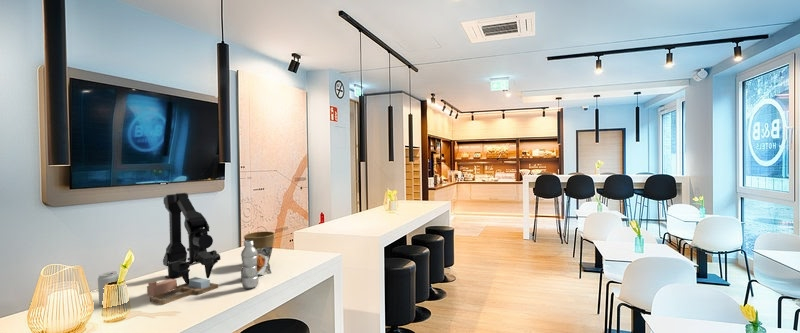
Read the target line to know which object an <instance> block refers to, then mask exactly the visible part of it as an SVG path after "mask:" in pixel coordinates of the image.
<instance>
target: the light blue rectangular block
mask: <svg viewBox="0 0 800 333" xmlns="http://www.w3.org/2000/svg"><path fill="white" fill-rule="evenodd" d="M210 283H211V279H209V278H203V277H202V278H201V277H198V276H197V277H196V276H194V277H191V278H190V277H189V285H187V286H189V287H193V288H198V289H204V288H206V287H209V286H210Z"/></svg>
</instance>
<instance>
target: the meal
mask: <svg viewBox="0 0 800 333" xmlns="http://www.w3.org/2000/svg"><path fill="white" fill-rule="evenodd" d="M271 249H272V250H273V248H272V247H267V248H261V249H256V250H257V252H258V254H257V265H256V266H257V276H258V277H260V276H264V275H265V274H272V270H271V265H270V262H269V263H268V259H269V257H270V255H271V256H272V253H271V251H270V250H271ZM270 258H271V257H270ZM240 266H241V267H242V268H240V281H241V282H242V278H243V263H242V262H241V264H240Z"/></svg>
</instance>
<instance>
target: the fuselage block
mask: <svg viewBox="0 0 800 333" xmlns="http://www.w3.org/2000/svg"><path fill="white" fill-rule="evenodd" d="M176 286H178V285H177V279H176V278H174V279H171V278H167V279H166V280H163V281H159V282H157V281H150V282H148V285H147V286H146V290H147V291H146V292H147V296H148V297H149V296H150V297H153V296H156V295H159V294H162V293H165V292H168V291H171V290H173V289H176Z"/></svg>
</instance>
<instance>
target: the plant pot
mask: <svg viewBox="0 0 800 333" xmlns="http://www.w3.org/2000/svg"><path fill="white" fill-rule="evenodd" d="M243 239H244V241H247V240H253V244H254V245H253V247H254V248H255V249H261V248H267V247H272V249H271V250H270V251H271V255H270V257H269V259H268V263H269V264H270V259H271V256H272V252H273V248H274V242H275V232H273V231H266V230H265V231H255V232H249V233H246V234H244V235H243Z"/></svg>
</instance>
